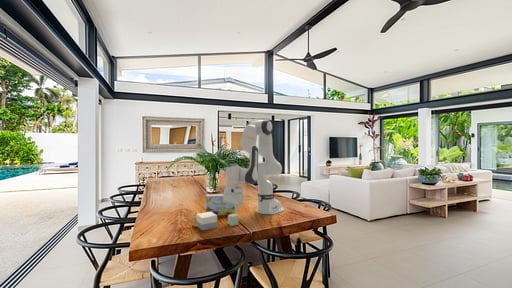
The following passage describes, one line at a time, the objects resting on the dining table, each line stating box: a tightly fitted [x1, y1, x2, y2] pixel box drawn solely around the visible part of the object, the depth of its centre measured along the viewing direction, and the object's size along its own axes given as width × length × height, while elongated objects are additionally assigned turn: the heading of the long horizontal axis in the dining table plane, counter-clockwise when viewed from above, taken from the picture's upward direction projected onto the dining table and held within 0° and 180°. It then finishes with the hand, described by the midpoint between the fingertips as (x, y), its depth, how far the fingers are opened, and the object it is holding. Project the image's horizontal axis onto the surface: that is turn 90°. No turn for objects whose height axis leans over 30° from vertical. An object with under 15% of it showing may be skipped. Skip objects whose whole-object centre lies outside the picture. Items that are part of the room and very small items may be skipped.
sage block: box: [227, 213, 239, 227], centre depth 158 cm, size 5×5×6 cm
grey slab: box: [195, 220, 218, 231], centre depth 153 cm, size 10×10×4 cm
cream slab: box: [195, 211, 218, 225], centre depth 153 cm, size 10×10×4 cm
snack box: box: [205, 193, 236, 216], centre depth 179 cm, size 21×6×15 cm, turn 101°
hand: (232, 209), depth 157 cm, fingers open, 8 cm apart
